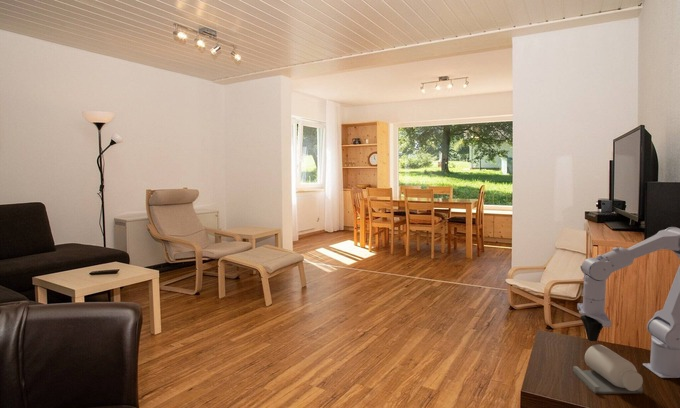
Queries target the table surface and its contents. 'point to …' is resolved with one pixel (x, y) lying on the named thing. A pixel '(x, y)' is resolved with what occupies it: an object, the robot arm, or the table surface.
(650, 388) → the table surface
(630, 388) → the pill bottle
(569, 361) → the table surface
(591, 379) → the grey tray
